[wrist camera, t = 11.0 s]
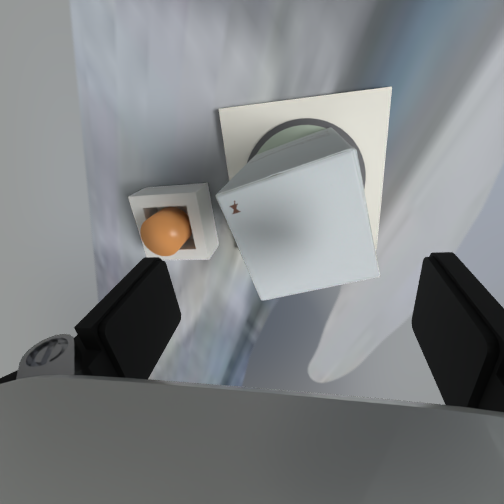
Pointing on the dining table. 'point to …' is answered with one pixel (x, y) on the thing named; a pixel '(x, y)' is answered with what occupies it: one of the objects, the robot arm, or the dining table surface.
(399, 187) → the dining table surface
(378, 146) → the picture board
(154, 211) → the button housing
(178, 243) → the button
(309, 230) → the supplement box
